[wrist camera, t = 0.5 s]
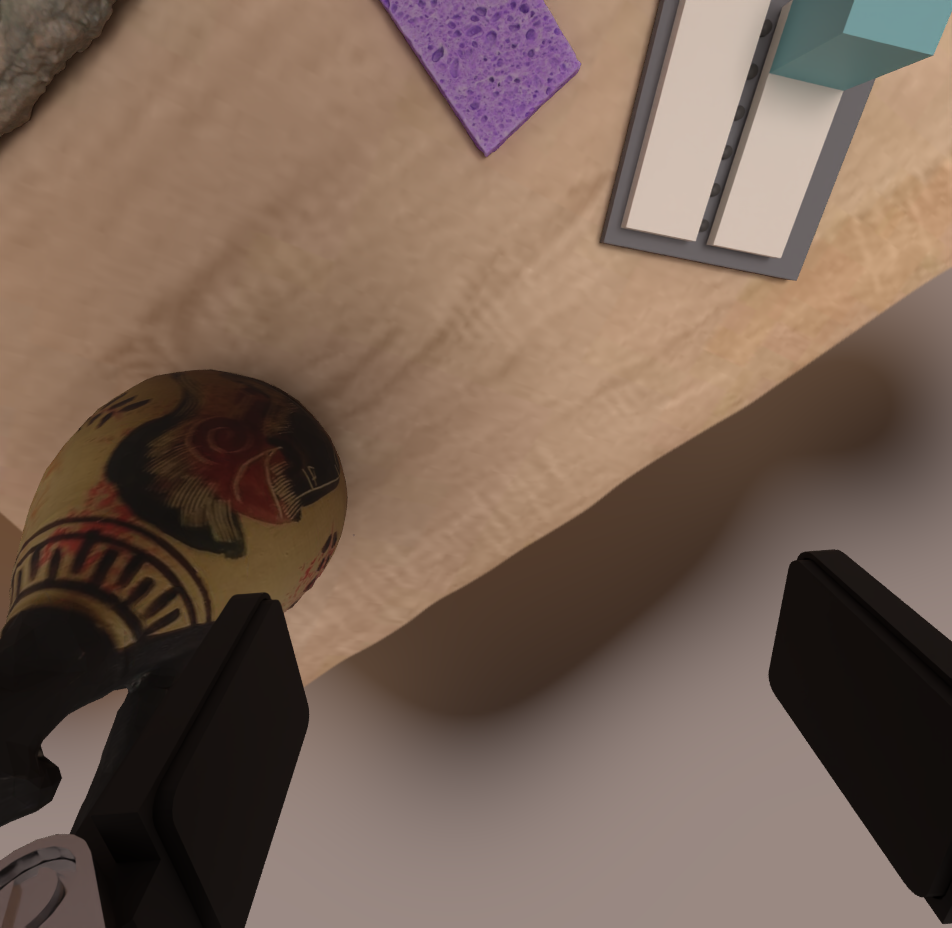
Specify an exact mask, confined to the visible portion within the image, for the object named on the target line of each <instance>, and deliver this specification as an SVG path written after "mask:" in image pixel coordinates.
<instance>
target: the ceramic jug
mask: <svg viewBox="0 0 952 928" xmlns="http://www.w3.org/2000/svg"><path fill="white" fill-rule="evenodd" d="M346 509H347V489H346V481H345V477H344V473H343V470H342V466H341V462H340V458H339V456H338V454H337V451H336V449H335V447H334V445H333V443H332V440H331V438H330V437H329V435H328V434H327V433H326V431H325V430H324V429H323V428H322V426H321V425H320V424H319V422H318V421H317V420H316V419H315V417H314V416H313V415H312V414H311V413H310V412H309V411H308V410H307V409H306V408H305V407H304V406H303V405H302V404H301V403H300V402H299V401H298V400H296V399H295V398H293V397H292V396H290V395H289V394H287V393H286V392H284V391H282V390H280V389H279V388H277V387H275V386H272V385H270V384H268V383H266V382H264V381H261V380H257V379H253V378H249V377H246V376H242V375H237V374H232V373H227V372H222V371H216V370H192V371H184V372H176V373H170V374H164V375H159V376H155V377H152V378H150V379H147V380H145V381H143V382H141V383H139V384H138V385H136V386H134V387H132V388H131V389H129V390H127V391H126V392H124V393H122V394H121V395H119V396H117V397H116V398H114V399H113V400H111V401H110V402H108V403H107V404H106V405H104V406H102V407H101V408H99V409H98V410H97V411H96V412H95V413H94V414H93V415H92V416H91V417H89V418H88V420H87V421H86V422H85V423H84V424H83V425H82V426H81V427H80V428H79V430H78V431H77V432H76V433H75V434H74V435H73V436H72V437H71V438H70V440H69V441H68V442H67V443H66V444H65V445H64V446H63V448H62V449H61V450H60V452H59V453H58V455H57V456H56V457H55V459H54V460H53V461H52V463H51V464H50V466H49V467H48V468H47V469H46V471H45V473H44V476H43V478H42V480H41V482H40V484H39V487H38V489H37V491H36V494H35V496H34V498H33V501H32V504H31V506H30V509H29V512H28V515H27V519H26V523H25V526H24V530H23V534H22V538H21V542H20V546H19V550H18V554H17V559H16V562H15V565H14V568H13V571H12V579H11V588H10V607H9V612H8V616H7V622H6V624H5V626H4V627H3V628H2V630H1V632H0V637H1V638H0V827H1V826H3V825H5V824H7V823H9V822H11V821H14V820H16V819H19V818H21V817H24V816H26V815H29V814H31V813H34V812H36V811H38V810H39V809H41V808H42V807H44V806H45V805H46V804H48V803H49V802H51V801H52V799H53V797H54V795H55V793H56V790H57V788H58V786H59V783H60V781H61V779H62V777H61V774H60V770H59V767H57V766H56V765H55V764H54V763H52V762H51V761H50V760H49V759H47V758H46V757H45V756H44V755H43V751H42V749H41V743H42V741H43V740H44V739H45V738H46V737H47V736H48V735H49V733H50V732H51V731H52V730H53V729H54V728H55V727H56V726H57V725H58V724H59V723H60V722H61V721H62V720H63V719H64V718H65V717H66V716H67V715H68V714H70V713H72V712H74V711H75V710H77V709H79V708H81V707H83V706H85V705H87V704H88V703H91V702H93V701H96V700H98V699H100V698H103V697H104V696H106V695H107V694H108V693H110V692H112V691H114V690H119V689H124V688H127V689H128V694H127V697H126V699H125V701H124V703H123V704H122V706H121V707H120V709H119V710H118V712H117V715H116V718H115V721H114V723H113V726H112V729H111V731H110V734H109V737H108V739H107V742H106V745H105V748H104V750H103V753H102V757H101V760H100V764H99V766H98V769H97V771H96V774H95V777H94V779H93V781H92V784H91V786H90V789H89V791H88V794H87V796H86V799H85V800H84V802H83V804H82V806H81V808H80V810H79V813H78V815H77V817H76V820H75V823H74V825H73V827H72V830H71V832H70V834H74V835H75V833H76V832H77V830H78V829H79V827H80V826H81V824H82V822H83V821H84V819H85V818H86V816H87V815H88V813H89V812H90V810H91V809H92V807H93V806H94V804H95V802H96V801H97V799H98V798H99V796H100V795H101V793H102V792H103V790H104V789H105V787H106V786H107V784H108V782H109V781H110V779H111V778H112V776H113V775H114V773H115V772H116V770H117V769H118V767H119V766H120V764H121V762H122V761H123V759H124V758H125V756H126V755H127V753H128V752H129V750H130V749H131V747H132V746H133V744H134V742H135V741H136V739H137V738H138V736H139V735H140V733H141V732H142V730H143V729H144V727H145V726H146V724H147V722H148V721H149V719H150V718H151V716H152V715H153V713H154V712H155V710H156V709H157V707H158V706H159V704H160V702H161V701H162V699H163V698H164V696H165V695H166V693H167V692H168V690H169V689H170V687H171V686H172V684H173V683H174V682H175V681H176V679H177V678H178V677H179V676H180V675H181V674H182V672H183V671H184V669H185V668H186V666H187V664H188V663H189V661H190V660H191V658H192V657H193V655H194V654H195V652H196V651H197V649H198V647H199V646H200V644H201V643H202V641H203V640H204V638H205V637H206V635H207V633H208V632H209V630H210V629H211V627H212V626H213V624H214V623H215V621H216V619H217V618H218V616H219V615H220V613H221V612H222V610H223V609H224V607H225V606H226V604H227V602H228V601H229V599H230V598H231V597H232V596H233V595H236V594H248V593H261V592H266V593H268V594H269V595H270V597H271V599H272V600H275V599H277V600H279V601H280V603H281V606H282V609H283V613H284V612H285V611H287V610H288V609H290V608H292V607H293V606H294V605H295V603H297V602H298V600H299V599H300V598H301V597H302V595H303V594H304V593H305V592H306V591H307V590H309V589H310V588H312V586H313V584H314V582H315V580H316V579H317V578H318V577H319V576H320V575H321V573H322V572H323V570H324V569H325V567H326V566H327V564H328V562H329V561H330V559H331V557H332V555H333V554H334V552H335V549H336V547H337V545H338V542H339V540H340V537H341V534H342V530H343V525H344V521H345V516H346ZM353 536H355V535H353Z"/></svg>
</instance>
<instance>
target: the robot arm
mask: <svg viewBox="0 0 952 928" xmlns="http://www.w3.org/2000/svg"><path fill="white" fill-rule="evenodd" d="M769 682H770V686H771V688H772V690H773V692H774V694H775V696H776V697H777V699H778V700H779V701H780V703H781V704H782V706H783V707H784V709H785V710H786V712H787V713H788V714H789V716H790V717H791V719H792V720H793V722H794V723H795V725H796V726H797V728H798V729H799V731H800V732H801V733H802V735H803V736H804V738H805V739H806V741H807V742H808V744H809V745H810V747H811V748H812V749H813V751H814V752H815V754H816V755H817V757H818V758H819V760H820V761H821V762H822V764H823V765H824V767H825V768H826V770H827V771H828V773H829V774H830V776H831V777H832V779H833V780H834V781H835V783H836V784H837V786H838V787H839V789H840V790H841V792H842V793H843V794H844V796H845V797H846V799H847V800H848V802H849V803H850V805H851V806H852V808H853V809H854V811H855V812H856V813H857V815H858V816H859V818H860V819H861V821H862V822H863V824H864V825H865V826H866V828H867V829H868V831H869V832H870V834H871V835H872V836H873V838H874V840H875V841H876V842H877V844H878V845H879V847H880V848H881V850H882V851H883V853H884V854H885V855H886V857H887V858H888V860H889V861H890V863H891V864H892V866H893V867H894V868H895V870H896V872H897V873H898V874H899V876H900V877H901V879H902V880H903V882H904V883H905V884H906V885H907V887H908V888H909V889H910V890H911V891H912V892H913V893H914V894H915V895H917V896H919V897H924V898H925V899H926V901H927V903H928V904H929V905H930V907H931V908H932V909H933V911H934V913H935V914H936V915H937V917H938V918H939V920H940V921H941V923H942V924H950V923H952V641H951V640H949V639H948V638H947V637H946V636H944V635H943V634H942V633H941V632H940V631H938V630H937V629H936V628H935V627H933V626H932V625H931V624H930V623H928V622H927V621H926V620H925V619H924V618H922V617H921V616H920V615H919V614H917V613H916V612H915V611H914V610H913V609H911V608H910V607H909V606H908V605H906V604H905V603H904V602H903V601H901V599H899V598H898V597H897V596H896V595H894V594H893V593H892V592H891V591H890V590H888V589H887V588H886V587H885V586H883V585H882V584H881V583H880V582H879V581H877V580H876V579H875V578H874V577H873V576H871V575H870V574H869V573H868V572H866V571H865V570H864V569H863V568H861V567H860V566H859V565H858V564H857V563H855V562H854V561H853V560H852V559H851V558H849V557H848V556H847V555H846V554H844V553H843V552H841V551H839V550H821V551H809V552H803V553H801V554H800V555H799V556H798V558H797V560H796V561H793V562H791V564H790V566H789V569H788V574H787V579H786V584H785V590H784V595H783V600H782V605H781V610H780V616H779V622H778V626H777V631H776V636H775V641H774V647H773V652H772V657H771V663H770V668H769ZM308 722H309V707H308V703H307V699H306V695H305V691H304V688H303V684H302V680H301V676H300V673H299V669H298V665H297V661H296V658H295V654H294V650H293V647H292V643H291V639H290V635H289V632H288V628H287V624H286V620H285V617H284V613H283V609H282V606H281V603H280V601H279V600H277V599H275V600H272V599H271V597H270V595H269V594H268V593H266V592H261V593H248V594H236V595H233V596H232V597H231V598H230V599H229V601H228V602H227V604H226V606H225V607H224V609H223V610H222V612H221V613H220V615H219V616H218V618H217V619H216V621H215V623H214V624H213V626H212V627H211V629H210V630H209V632H208V633H207V635H206V637H205V638H204V640H203V641H202V643H201V644H200V646H199V647H198V649H197V651H196V652H195V654H194V655H193V657H192V658H191V660H190V661H189V663H188V664H187V666H186V668H185V669H184V671H183V672H182V674H181V675H180V676H179V677H178V678H177V679H176V681H175V682H174V683H173V684H172V686H171V687H170V689H169V690H168V692H167V693H166V695H165V696H164V698H163V699H162V701H161V702H160V704H159V706H158V707H157V709H156V710H155V712H154V713H153V715H152V716H151V718H150V719H149V721H148V722H147V724H146V726H145V727H144V729H143V730H142V732H141V733H140V735H139V736H138V738H137V739H136V741H135V742H134V744H133V746H132V747H131V749H130V750H129V752H128V753H127V755H126V756H125V758H124V759H123V761H122V762H121V764H120V766H119V767H118V769H117V770H116V772H115V773H114V775H113V776H112V778H111V779H110V781H109V782H108V784H107V786H106V787H105V789H104V790H103V792H102V793H101V795H100V796H99V798H98V799H97V801H96V802H95V804H94V806H93V807H92V809H91V810H90V812H89V813H88V815H87V816H86V818H85V819H84V821H83V822H82V824H81V826H80V827H79V829H78V830H77V832H76V833H75V835H74V834H56V835H52V836H48V837H45V838H41V839H37V840H35V841H33V842H31V843H29V844H27V845H25V846H23V847H21V848H19V849H17V850H15V851H13V852H12V853H11V854H9V855H8V856H6V857H5V858H3V859H2V860H0V928H245V924H246V921H247V918H248V915H249V912H250V909H251V905H252V902H253V899H254V896H255V893H256V889H257V886H258V883H259V880H260V877H261V874H262V870H263V867H264V864H265V861H266V858H267V855H268V851H269V848H270V845H271V842H272V839H273V835H274V832H275V829H276V826H277V823H278V820H279V817H280V813H281V810H282V807H283V804H284V801H285V798H286V794H287V791H288V788H289V785H290V782H291V778H292V775H293V772H294V769H295V766H296V762H297V760H298V756H299V753H300V750H301V747H302V744H303V741H304V737H305V734H306V731H307V727H308Z"/></svg>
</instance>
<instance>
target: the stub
mask: <svg viewBox="0 0 952 928" xmlns="http://www.w3.org/2000/svg"><path fill="white" fill-rule="evenodd" d="M951 12H952V0H791V1H790V2H789V3H787V4H786V5H784V6H783V7H782V10H781V13H780V16H779V19H778V23H777V26H776V29H775V32H774V35H773V38H772V41H771V44H770V47H769V51H768V54H767V57H766V60H765V63H764V66H763V69H762V72H761V76H760V79H759V82H758V85H757V88H756V91H755V94H754V97H753V101H752V104H751V107H750V110H749V113H748V116H747V119H746V122H745V126H744V129H743V132H742V135H741V138H740V141H739V144H738V147H737V150H736V154H735V157H734V160H733V163H732V166H731V169H730V172H729V175H728V179H727V182H726V185H725V188H724V191H723V194H722V197H721V200H720V204H719V207H718V210H717V213H716V216H715V219H714V222H713V225H712V228H711V232H710V235H709V238H708V241H707V244H706V245H711V246H716V247H721V248H726V249H731V250H736V251H741V252H746V253H750V254H755V255H760V256H765V257H770V258H781V257H782V254H783V251H784V249H785V246H786V243H787V241H788V238H789V235H790V233H791V230H792V227H793V225H794V222H795V219H796V217H797V214H798V211H799V209H800V206H801V203H802V200H803V198H804V195H805V192H806V190H807V187H808V184H809V182H810V179H811V176H812V174H813V171H814V168H815V166H816V163H817V160H818V158H819V155H820V152H821V150H822V147H823V144H824V142H825V139H826V136H827V134H828V131H829V128H830V126H831V123H832V120H833V118H834V115H835V112H836V110H837V107H838V104H839V102H840V99H841V96H842V94H843V91H844V90H847V89H849V88H852V87H854V86H857V85H859V84H862V83H865V82H867V81H870V80H872V79H875V78H877V77H880V76H882V75H885V74H887V73H890V72H892V71H895V70H897V69H900V68H902V67H905V66H908V65H910V64H913V63H915V62H918V61H920V60H923V59H925V58H928V57H930V56H933V55H934V52H935V50H936V48H937V45H938V43H939V41H940V38H941V36H942V33H943V31H944V29H945V26H946V24H947V21H948V19H949V17H950V14H951Z"/></svg>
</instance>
